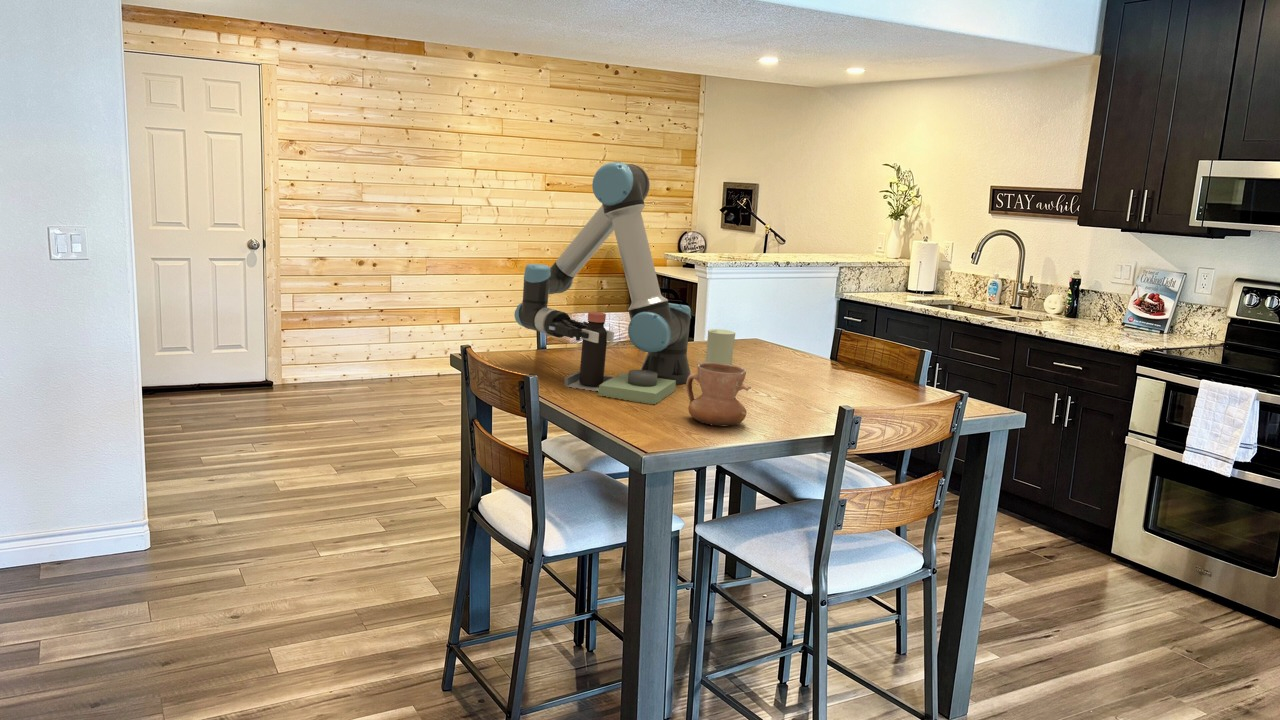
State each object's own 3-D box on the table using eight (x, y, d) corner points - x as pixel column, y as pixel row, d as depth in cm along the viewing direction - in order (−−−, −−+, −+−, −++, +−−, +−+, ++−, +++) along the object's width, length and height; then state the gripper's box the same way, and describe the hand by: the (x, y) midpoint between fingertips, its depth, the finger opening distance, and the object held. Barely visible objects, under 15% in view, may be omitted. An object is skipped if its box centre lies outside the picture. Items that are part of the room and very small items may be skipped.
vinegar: (602, 387, 256) (608, 316, 252) (577, 384, 256) (584, 313, 252) (603, 381, 263) (609, 312, 259) (579, 379, 263) (585, 310, 259)
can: (700, 362, 310) (703, 327, 308) (725, 363, 313) (729, 328, 311) (710, 368, 301) (714, 332, 299) (736, 368, 304) (740, 333, 302)
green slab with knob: (583, 377, 271) (584, 357, 270) (675, 390, 263) (676, 370, 262) (557, 389, 252) (558, 368, 251) (655, 404, 245) (657, 382, 243)
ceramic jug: (759, 425, 232) (766, 370, 230) (729, 434, 221) (735, 376, 218) (700, 410, 243) (705, 357, 240) (668, 418, 231) (673, 363, 229)
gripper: (576, 334, 276) (628, 349, 259) (527, 336, 264) (578, 352, 247) (578, 309, 275) (630, 322, 258) (529, 310, 263) (581, 325, 246)
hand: (605, 337), depth 253 cm, fingers open, 5 cm apart
